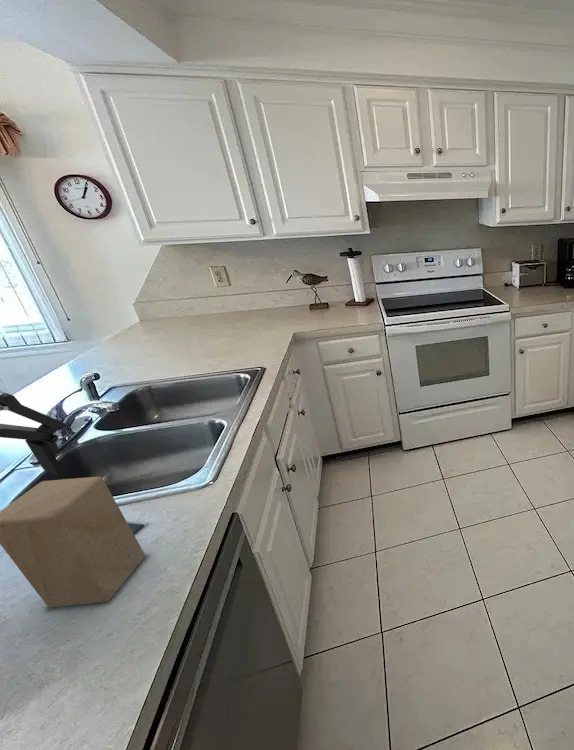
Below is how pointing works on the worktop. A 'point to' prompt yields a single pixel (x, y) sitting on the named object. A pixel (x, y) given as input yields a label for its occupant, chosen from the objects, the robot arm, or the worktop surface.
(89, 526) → the wooden block
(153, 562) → the worktop surface
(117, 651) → the worktop surface
